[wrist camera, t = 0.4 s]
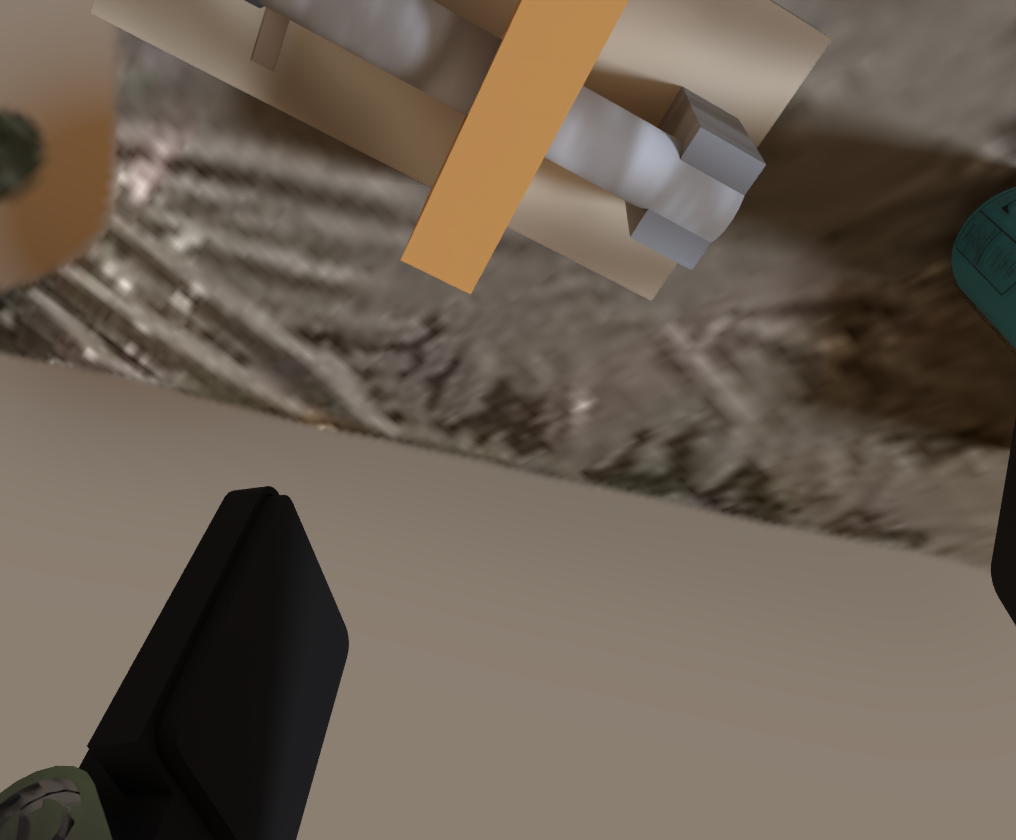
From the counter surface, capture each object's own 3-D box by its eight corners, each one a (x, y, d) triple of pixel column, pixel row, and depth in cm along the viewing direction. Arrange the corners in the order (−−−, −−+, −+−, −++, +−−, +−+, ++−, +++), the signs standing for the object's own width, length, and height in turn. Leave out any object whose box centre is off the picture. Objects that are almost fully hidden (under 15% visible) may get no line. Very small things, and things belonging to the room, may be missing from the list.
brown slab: (568, -107, 31) (566, -96, 24) (636, -65, 32) (651, -43, 25) (430, 189, 38) (400, 260, 31) (488, 219, 38) (470, 294, 32)
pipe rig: (179, -371, 30) (55, -441, 23) (823, 33, 36) (884, 77, 29) (107, 7, 37) (-4, 44, 30) (649, 288, 43) (663, 373, 36)
